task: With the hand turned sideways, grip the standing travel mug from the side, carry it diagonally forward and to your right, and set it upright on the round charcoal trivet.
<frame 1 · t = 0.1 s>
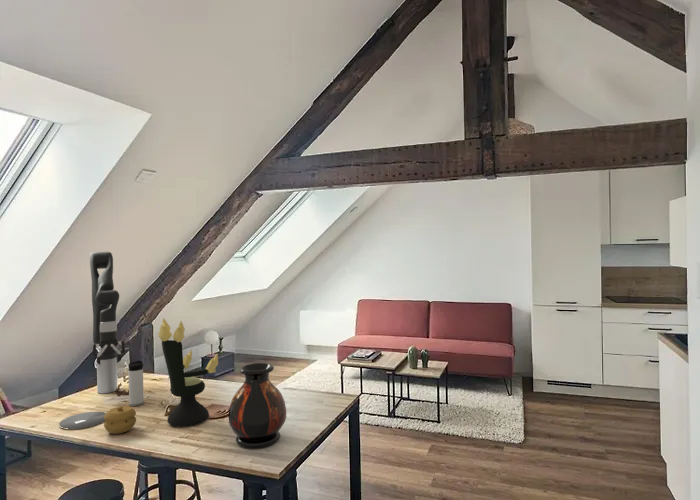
hand: (109, 363, 229), 17 cm above the table, tool pointing down, fingers open, 8 cm apart
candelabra: (185, 423, 193), on the table
charcoal trivet: (84, 421, 197), on the table
pot: (120, 431, 186), on the table
travel mug: (136, 404, 218), on the table
black and orange vase: (258, 441, 174), on the table
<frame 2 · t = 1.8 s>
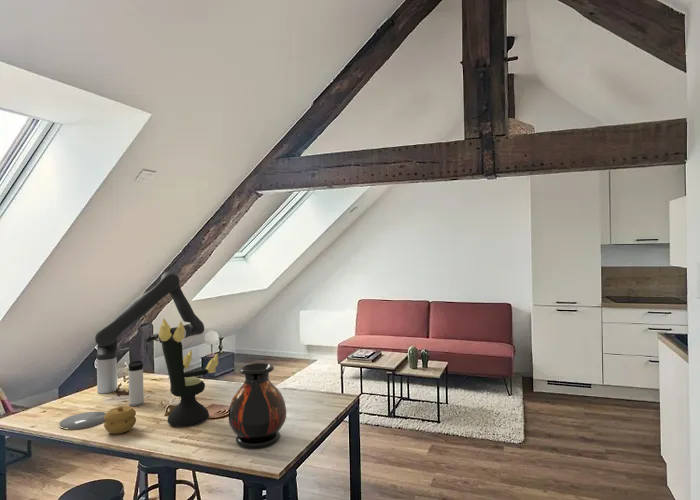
hand: (153, 340, 229), 28 cm above the table, tool horizontal, fingers open, 8 cm apart
nothing on the table moved.
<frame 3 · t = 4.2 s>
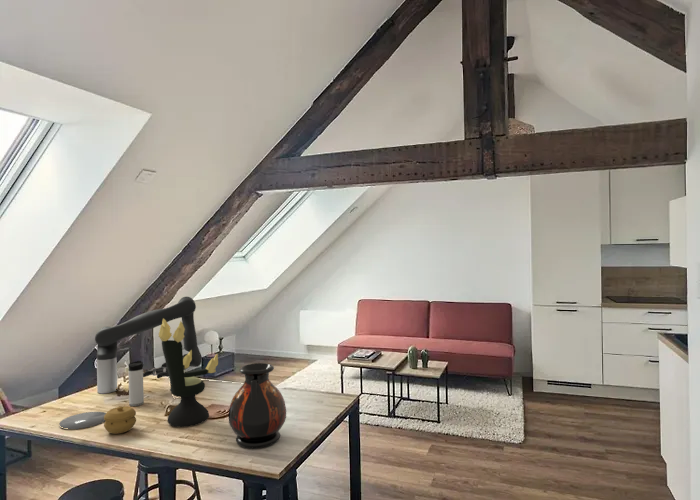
hand: (150, 375, 227), 11 cm above the table, tool horizontal, fingers open, 8 cm apart
nothing on the table moved.
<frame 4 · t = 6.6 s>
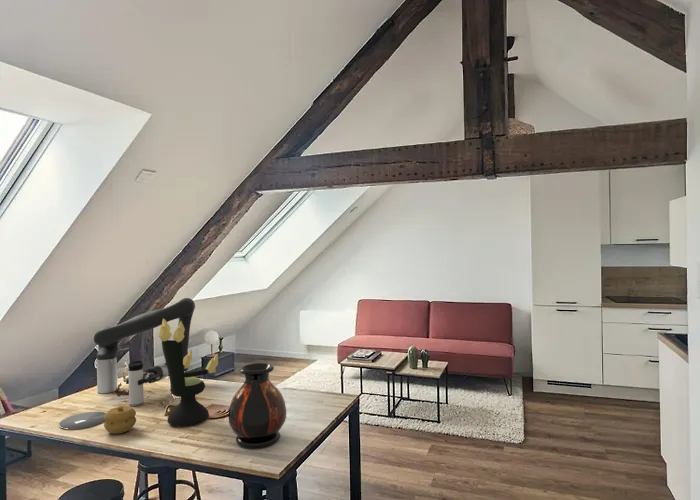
hand: (132, 382, 216), 11 cm above the table, tool horizontal, fingers closed on travel mug, 6 cm apart
travel mug: (136, 404, 218), on the table, touching gripper
everything else where it was.
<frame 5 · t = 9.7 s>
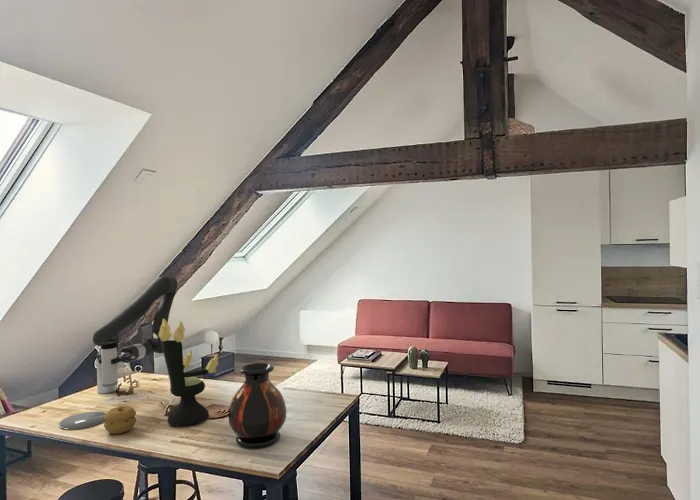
hand: (105, 361, 204), 24 cm above the table, tool horizontal, fingers closed on travel mug, 6 cm apart
travel mug: (110, 385, 207), point 13 cm above the table, touching gripper
everything else where it was.
when the fingers open (13 cm above the table, at t = 13.0 s): travel mug drops 1 cm, resting on charcoal trivet.
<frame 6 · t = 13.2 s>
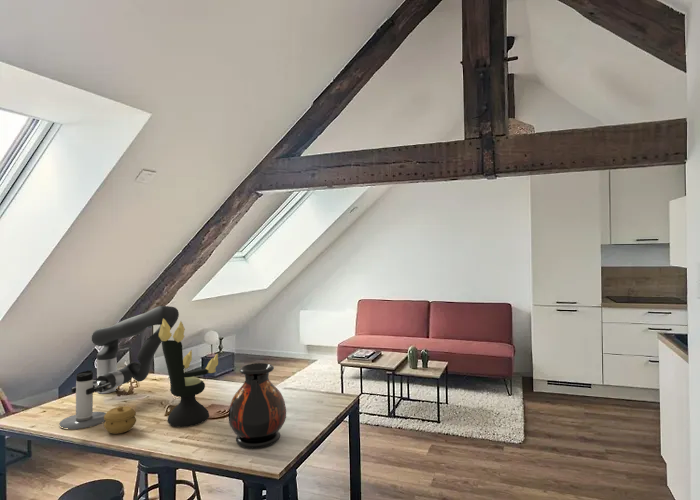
hand: (79, 391, 195), 13 cm above the table, tool horizontal, fingers open, 7 cm apart
travel mug: (84, 419, 197), point 1 cm above the table, touching charcoal trivet
everything else where it was.
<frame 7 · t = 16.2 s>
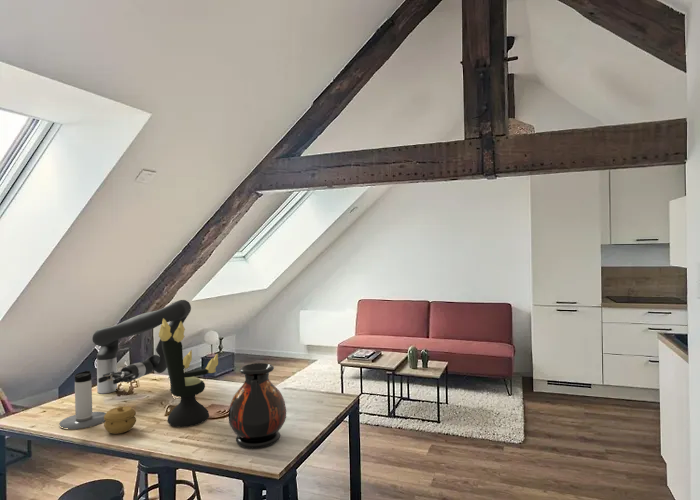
hand: (106, 381, 209), 14 cm above the table, tool horizontal, fingers open, 8 cm apart
nothing on the table moved.
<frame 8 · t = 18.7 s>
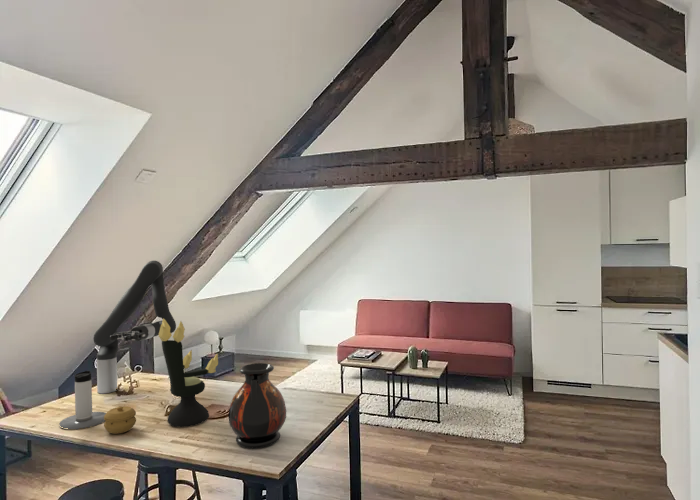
hand: (117, 338, 215), 32 cm above the table, tool horizontal, fingers open, 8 cm apart
nothing on the table moved.
at the end: travel mug inside the target area on the charcoal trivet (0.1 cm from its centre), point 0.8 cm above the charcoal trivet's base; travel mug tilted 0°; the gripper is holding nothing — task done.
